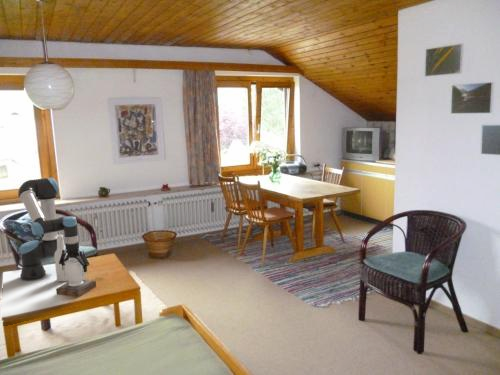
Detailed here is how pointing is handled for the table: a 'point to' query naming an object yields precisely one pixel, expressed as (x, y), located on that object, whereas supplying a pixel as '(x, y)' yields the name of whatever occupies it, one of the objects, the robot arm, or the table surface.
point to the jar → (74, 272)
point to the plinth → (76, 289)
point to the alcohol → (57, 258)
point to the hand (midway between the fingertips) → (75, 276)
